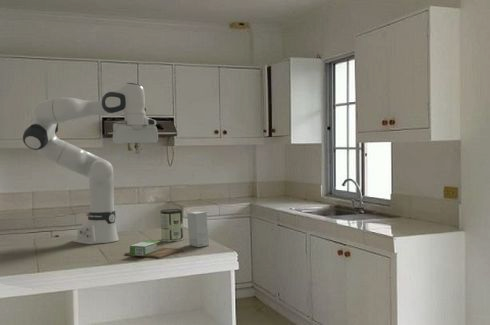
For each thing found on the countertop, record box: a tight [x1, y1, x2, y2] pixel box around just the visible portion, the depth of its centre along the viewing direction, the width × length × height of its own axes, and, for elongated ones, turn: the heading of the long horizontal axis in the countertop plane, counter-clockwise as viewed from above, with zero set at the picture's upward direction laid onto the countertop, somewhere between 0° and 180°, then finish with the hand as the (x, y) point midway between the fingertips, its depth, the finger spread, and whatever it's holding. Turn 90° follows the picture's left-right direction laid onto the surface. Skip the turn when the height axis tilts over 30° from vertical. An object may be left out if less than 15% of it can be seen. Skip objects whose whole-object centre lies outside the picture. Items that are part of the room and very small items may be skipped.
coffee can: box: [159, 208, 184, 243], centre depth 250 cm, size 10×10×14 cm
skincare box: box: [187, 210, 210, 248], centre depth 233 cm, size 8×6×15 cm
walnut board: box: [124, 246, 184, 259], centre depth 219 cm, size 18×16×1 cm
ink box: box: [129, 239, 162, 257], centre depth 216 cm, size 7×4×13 cm
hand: (136, 153), depth 225 cm, fingers closed
